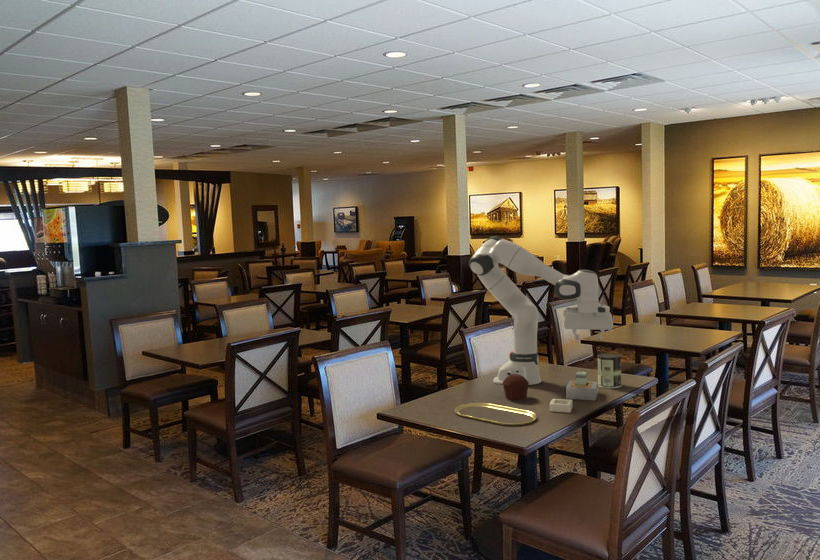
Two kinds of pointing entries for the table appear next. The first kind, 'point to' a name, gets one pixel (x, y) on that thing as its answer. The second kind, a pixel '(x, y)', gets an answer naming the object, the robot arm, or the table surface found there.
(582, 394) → the port
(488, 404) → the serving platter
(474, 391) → the table surface
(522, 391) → the muffin
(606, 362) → the coffee can
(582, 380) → the plug
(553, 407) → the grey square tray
